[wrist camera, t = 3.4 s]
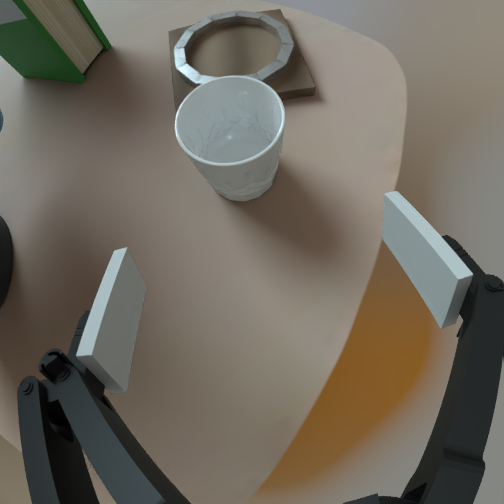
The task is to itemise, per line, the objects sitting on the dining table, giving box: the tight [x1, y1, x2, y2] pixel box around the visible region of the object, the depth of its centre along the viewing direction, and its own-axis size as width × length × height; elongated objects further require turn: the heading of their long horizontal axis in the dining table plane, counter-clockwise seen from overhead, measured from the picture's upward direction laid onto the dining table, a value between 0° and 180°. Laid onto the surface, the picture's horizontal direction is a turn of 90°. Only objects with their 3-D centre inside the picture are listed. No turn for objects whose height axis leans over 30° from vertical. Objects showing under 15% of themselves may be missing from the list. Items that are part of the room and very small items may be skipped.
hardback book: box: [0, 0, 111, 84], centre depth 24 cm, size 18×7×24 cm, turn 66°
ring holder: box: [169, 9, 315, 114], centre depth 31 cm, size 15×15×3 cm
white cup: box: [175, 76, 285, 202], centre depth 25 cm, size 8×8×10 cm
